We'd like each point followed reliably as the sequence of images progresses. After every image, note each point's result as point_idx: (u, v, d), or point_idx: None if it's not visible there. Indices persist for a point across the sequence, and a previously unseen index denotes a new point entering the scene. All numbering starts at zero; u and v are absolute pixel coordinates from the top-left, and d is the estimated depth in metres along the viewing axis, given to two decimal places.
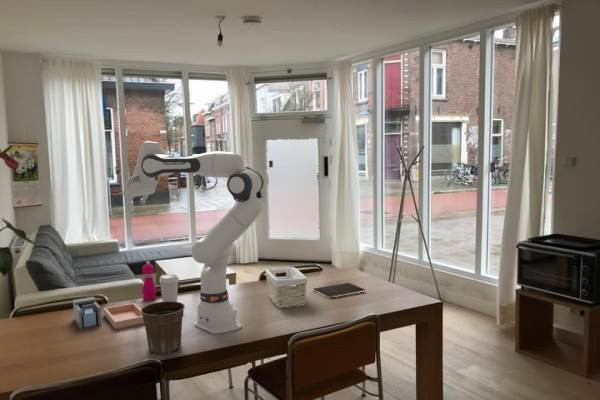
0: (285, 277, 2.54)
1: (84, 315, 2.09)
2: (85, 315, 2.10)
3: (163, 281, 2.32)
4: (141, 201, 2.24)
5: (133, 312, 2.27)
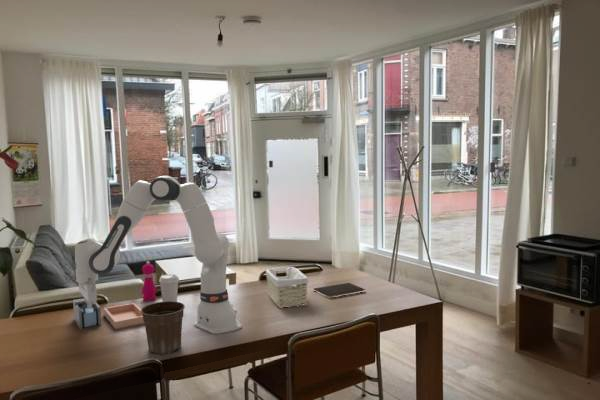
0: (285, 277, 2.54)
1: (85, 314, 2.10)
2: (86, 314, 2.10)
3: (163, 281, 2.32)
4: None
5: (133, 312, 2.27)
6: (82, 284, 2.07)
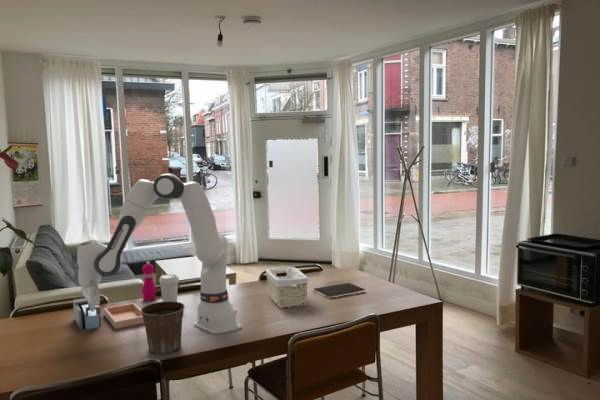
0: (285, 277, 2.54)
1: (87, 317, 2.06)
2: (88, 317, 2.06)
3: (163, 281, 2.32)
4: None
5: (133, 312, 2.27)
6: (85, 286, 2.03)
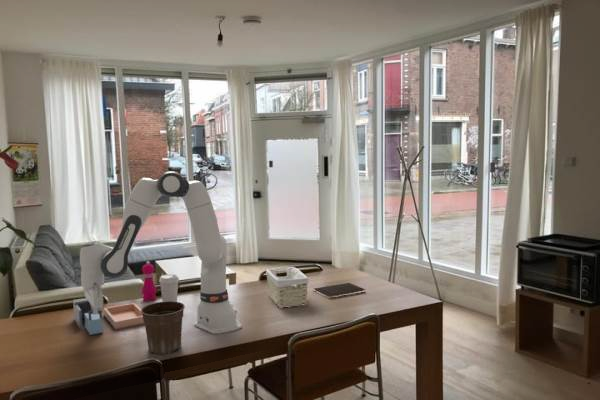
0: (286, 277, 2.54)
1: (90, 321, 2.00)
2: (91, 321, 2.00)
3: (163, 281, 2.32)
4: None
5: (133, 312, 2.27)
6: (88, 289, 1.97)
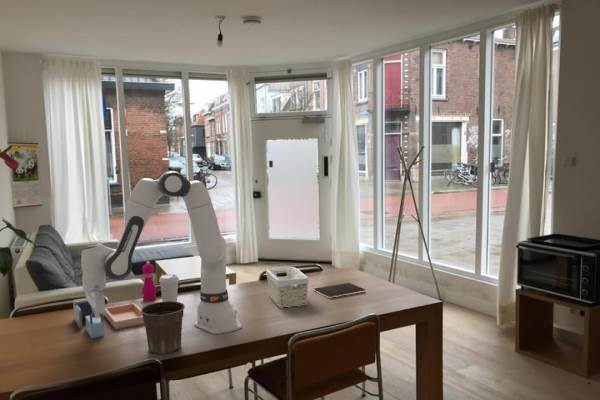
0: (286, 277, 2.54)
1: (92, 325, 1.97)
2: (93, 325, 1.97)
3: (163, 281, 2.32)
4: (94, 313, 2.00)
5: (133, 312, 2.27)
6: (89, 292, 1.95)
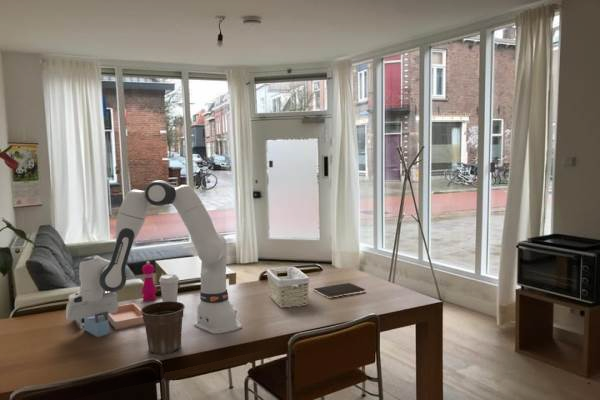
0: (286, 277, 2.54)
1: (98, 324, 1.98)
2: (99, 324, 1.99)
3: (163, 281, 2.32)
4: None
5: (133, 312, 2.27)
6: (98, 301, 2.03)
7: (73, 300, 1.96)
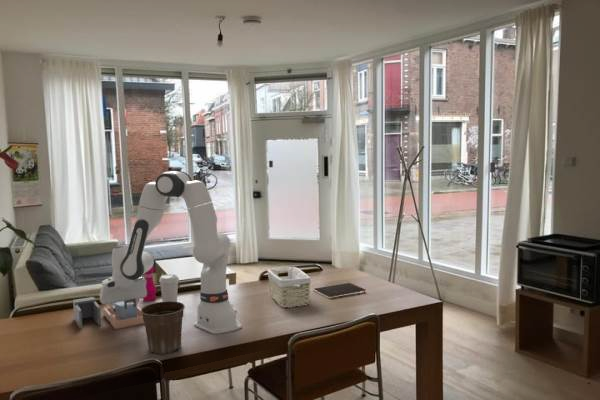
0: (287, 277, 2.54)
1: (126, 310, 2.13)
2: (127, 310, 2.14)
3: (163, 281, 2.32)
4: None
5: None
6: (129, 286, 2.18)
7: (107, 285, 2.12)
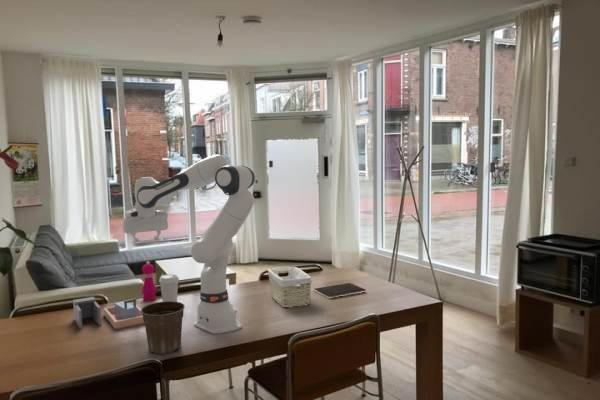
0: (287, 277, 2.54)
1: (126, 310, 2.13)
2: (127, 310, 2.14)
3: (163, 281, 2.32)
4: None
5: None
6: (151, 217, 2.24)
7: (130, 214, 2.18)
